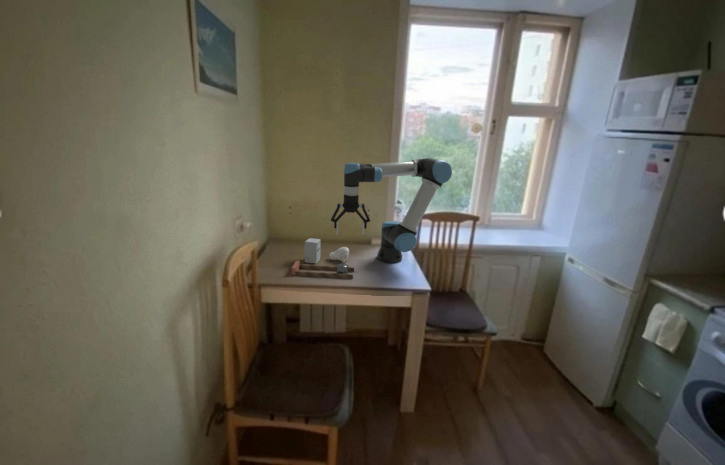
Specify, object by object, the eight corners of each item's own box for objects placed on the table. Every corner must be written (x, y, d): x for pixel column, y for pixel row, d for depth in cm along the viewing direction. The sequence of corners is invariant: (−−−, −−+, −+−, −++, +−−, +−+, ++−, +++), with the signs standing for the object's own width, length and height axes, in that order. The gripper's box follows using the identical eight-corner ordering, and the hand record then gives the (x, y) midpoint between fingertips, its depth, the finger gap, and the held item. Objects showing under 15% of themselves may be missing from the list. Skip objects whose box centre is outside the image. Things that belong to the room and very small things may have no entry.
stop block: (299, 267, 187) (299, 260, 186) (295, 275, 177) (295, 268, 176) (296, 267, 187) (296, 260, 186) (291, 275, 177) (291, 267, 176)
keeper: (348, 272, 184) (348, 263, 182) (347, 276, 178) (347, 268, 177) (337, 271, 184) (337, 263, 183) (336, 276, 178) (336, 267, 177)
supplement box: (316, 263, 193) (316, 242, 189) (304, 262, 194) (304, 241, 191) (320, 259, 200) (320, 239, 196) (308, 257, 201) (308, 237, 197)
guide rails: (354, 270, 186) (354, 267, 185) (352, 278, 176) (352, 275, 175) (299, 267, 187) (299, 264, 186) (295, 275, 177) (295, 271, 176)
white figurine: (347, 249, 193) (327, 248, 195) (348, 263, 195) (328, 262, 198) (349, 245, 199) (330, 245, 201) (350, 259, 201) (331, 258, 204)
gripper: (374, 193, 175) (373, 232, 182) (326, 192, 173) (326, 232, 180) (376, 196, 168) (374, 236, 175) (326, 195, 166) (326, 236, 173)
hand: (350, 234), depth 177 cm, fingers open, 13 cm apart
